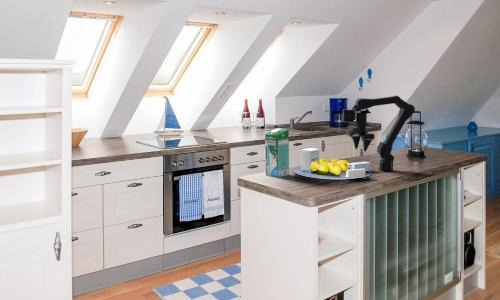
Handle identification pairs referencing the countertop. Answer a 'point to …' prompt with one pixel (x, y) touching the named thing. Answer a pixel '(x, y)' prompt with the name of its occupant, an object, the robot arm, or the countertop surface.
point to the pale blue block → (361, 165)
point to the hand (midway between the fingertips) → (360, 150)
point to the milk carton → (277, 152)
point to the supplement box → (309, 157)
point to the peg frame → (354, 172)
